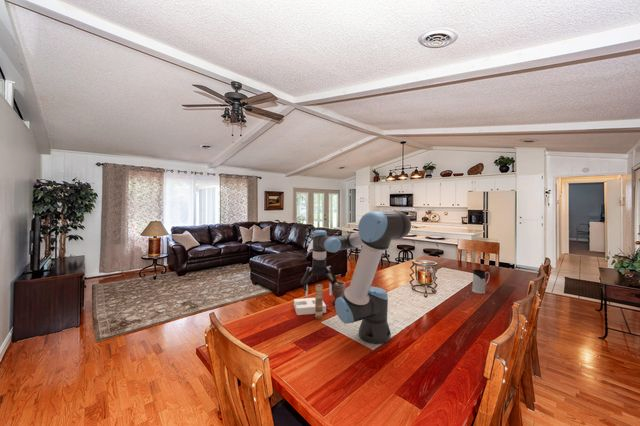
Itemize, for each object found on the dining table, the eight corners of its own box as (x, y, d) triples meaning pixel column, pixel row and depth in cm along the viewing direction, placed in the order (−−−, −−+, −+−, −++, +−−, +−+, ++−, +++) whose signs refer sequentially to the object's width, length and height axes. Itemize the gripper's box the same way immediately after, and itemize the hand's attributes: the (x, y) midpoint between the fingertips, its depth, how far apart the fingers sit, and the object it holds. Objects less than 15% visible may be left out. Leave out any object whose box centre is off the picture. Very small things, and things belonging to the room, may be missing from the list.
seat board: (326, 312, 154) (326, 305, 154) (297, 315, 150) (297, 308, 150) (320, 303, 167) (320, 297, 167) (293, 305, 163) (293, 299, 163)
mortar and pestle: (334, 308, 160) (334, 275, 159) (324, 304, 166) (325, 272, 165) (347, 304, 167) (348, 272, 166) (338, 299, 174) (338, 269, 173)
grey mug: (468, 289, 195) (469, 269, 194) (483, 288, 200) (484, 268, 199) (479, 294, 187) (480, 273, 186) (494, 292, 191) (495, 271, 190)
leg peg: (323, 318, 146) (323, 286, 145) (316, 319, 145) (316, 286, 144) (321, 315, 150) (321, 284, 149) (314, 316, 149) (314, 284, 148)
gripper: (338, 255, 152) (338, 291, 154) (295, 257, 147) (295, 294, 148) (343, 259, 145) (342, 296, 147) (297, 260, 139) (297, 300, 141)
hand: (318, 295), depth 147 cm, fingers open, 13 cm apart
